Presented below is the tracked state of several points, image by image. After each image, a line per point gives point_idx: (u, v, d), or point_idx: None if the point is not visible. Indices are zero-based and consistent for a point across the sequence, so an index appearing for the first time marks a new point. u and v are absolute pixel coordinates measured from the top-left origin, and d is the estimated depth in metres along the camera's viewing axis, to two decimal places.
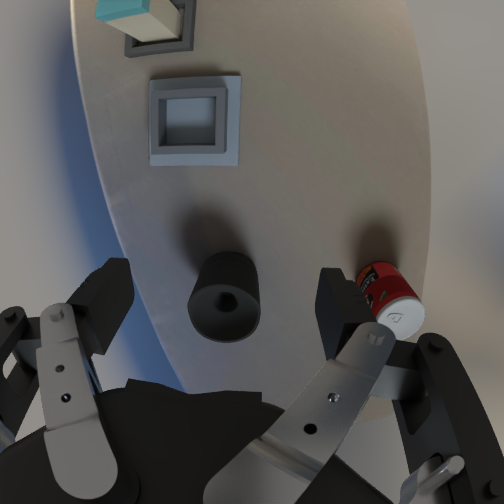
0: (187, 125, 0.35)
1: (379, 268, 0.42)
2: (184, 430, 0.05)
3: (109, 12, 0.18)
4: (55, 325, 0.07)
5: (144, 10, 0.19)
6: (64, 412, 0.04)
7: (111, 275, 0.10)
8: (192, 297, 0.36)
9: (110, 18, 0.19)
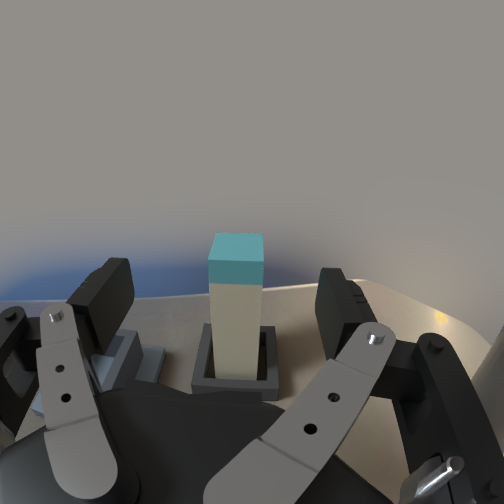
0: None
1: None
2: (184, 430, 0.05)
3: (216, 240, 0.24)
4: (55, 325, 0.07)
5: (208, 271, 0.22)
6: (64, 412, 0.04)
7: (111, 275, 0.10)
8: None
9: None
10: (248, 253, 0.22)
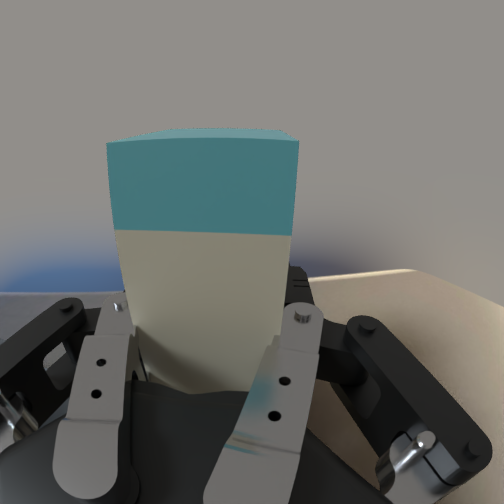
0: None
1: None
2: (184, 430, 0.05)
3: (161, 131, 0.08)
4: (123, 314, 0.08)
5: (112, 189, 0.06)
6: (89, 408, 0.04)
7: None
8: None
9: None
10: (244, 134, 0.07)
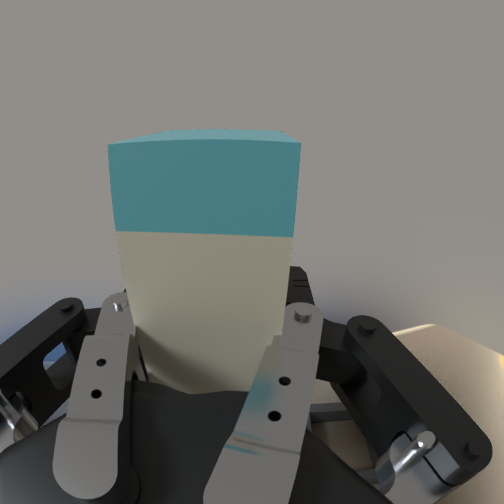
0: None
1: None
2: (184, 430, 0.05)
3: (162, 132, 0.08)
4: (123, 314, 0.08)
5: (113, 191, 0.06)
6: (89, 408, 0.04)
7: None
8: None
9: None
10: (245, 136, 0.07)
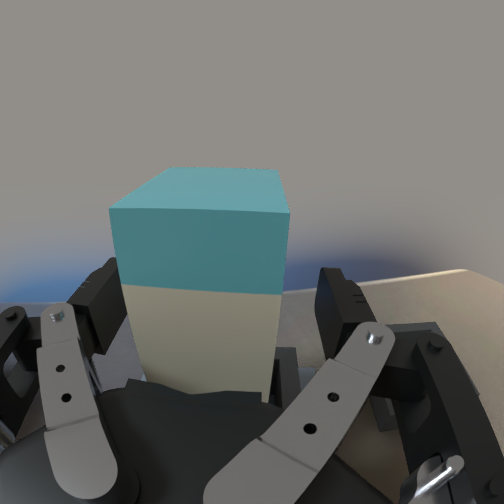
0: None
1: None
2: (184, 430, 0.05)
3: (161, 176, 0.09)
4: (56, 325, 0.07)
5: (117, 249, 0.07)
6: (64, 412, 0.04)
7: (112, 275, 0.10)
8: None
9: None
10: (239, 194, 0.07)
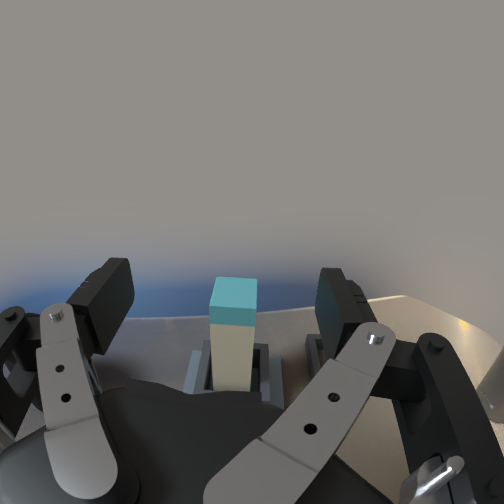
0: None
1: None
2: (184, 430, 0.05)
3: (216, 285, 0.28)
4: (55, 325, 0.07)
5: None
6: (64, 412, 0.04)
7: (111, 275, 0.10)
8: None
9: None
10: (243, 299, 0.26)
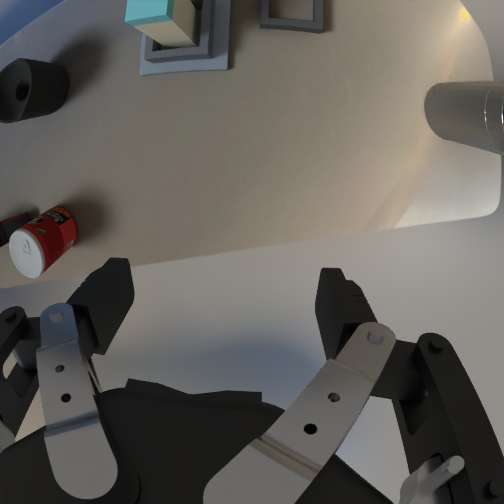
0: None
1: (68, 225, 0.41)
2: (184, 430, 0.05)
3: None
4: (55, 325, 0.07)
5: (129, 23, 0.19)
6: (64, 413, 0.04)
7: (111, 275, 0.10)
8: (22, 60, 0.22)
9: None
10: (155, 5, 0.18)
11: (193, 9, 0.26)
